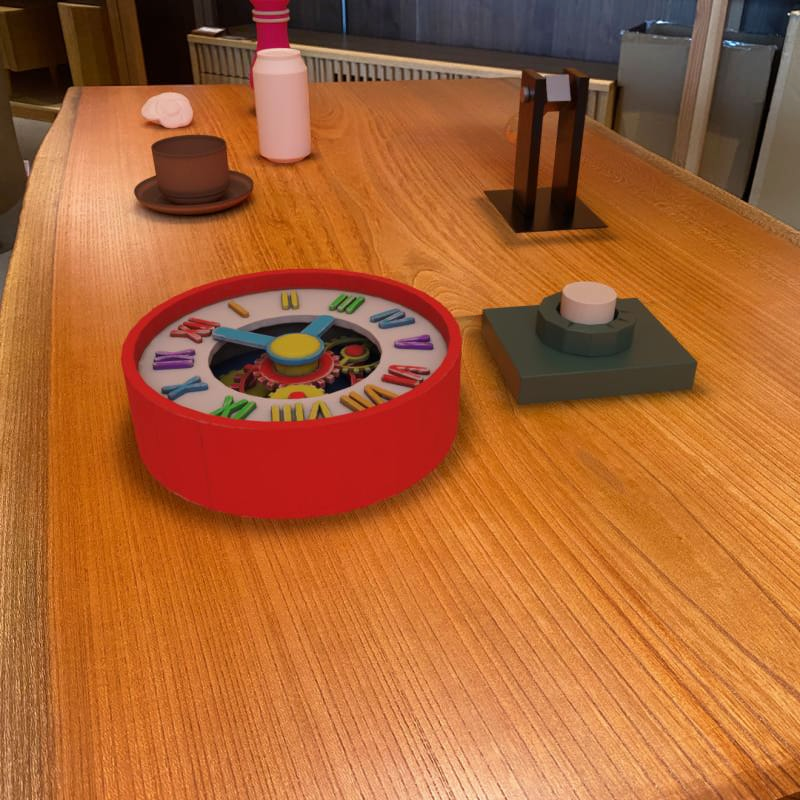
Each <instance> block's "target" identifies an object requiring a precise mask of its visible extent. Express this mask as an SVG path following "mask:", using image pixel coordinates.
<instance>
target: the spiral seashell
mask: <svg viewBox="0 0 800 800" xmlns="http://www.w3.org/2000/svg"><path fill="white" fill-rule="evenodd" d="M139 109H140V110H141V113H140V114H141V116H142V117H143V119H145V120H146V121H148V122H150V123H153V124H155V125H158V126H159V125H160V126H162V127H164V128H166V129H173V130H175V129H179V128H182V127H183V128H185V127H187V126H189V125H190V124H191V123H192V121H193V117H194V111H193V108H192V105H191V102H190V100H189V99H188V97H187V96H185V95H184V94H182V93H179V92H174V91H173V92H172V91H168V92H167V91H166V92H162V93H160V94H157V95H154V96H151V97H150V98H149V99H148V100H146V102H145V103H144V104H143V106H142V107H139Z"/></svg>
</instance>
